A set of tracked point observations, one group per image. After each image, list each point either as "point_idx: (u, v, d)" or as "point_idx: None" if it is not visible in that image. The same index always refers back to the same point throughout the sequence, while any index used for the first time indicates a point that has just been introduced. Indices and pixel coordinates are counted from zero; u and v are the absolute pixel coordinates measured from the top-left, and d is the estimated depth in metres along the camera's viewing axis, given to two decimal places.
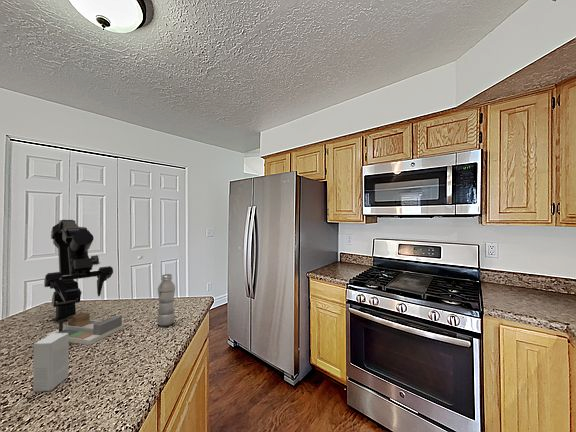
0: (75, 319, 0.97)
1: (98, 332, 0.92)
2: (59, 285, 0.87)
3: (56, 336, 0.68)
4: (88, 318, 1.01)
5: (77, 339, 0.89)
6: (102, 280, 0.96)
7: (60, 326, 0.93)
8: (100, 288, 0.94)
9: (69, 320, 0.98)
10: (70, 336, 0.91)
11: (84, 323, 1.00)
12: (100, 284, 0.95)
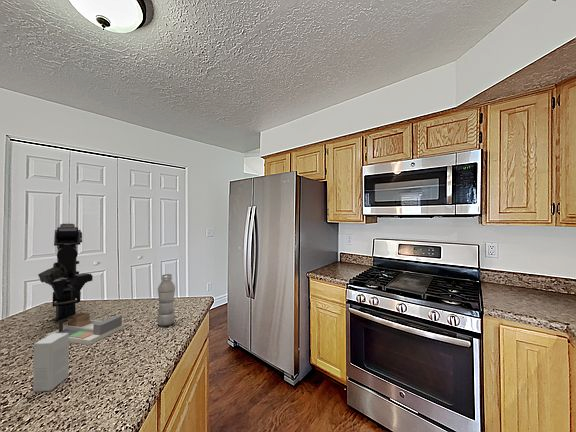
0: (75, 319, 0.97)
1: (98, 332, 0.92)
2: (51, 285, 1.01)
3: (56, 336, 0.68)
4: (88, 318, 1.01)
5: (77, 339, 0.89)
6: (72, 288, 0.99)
7: (60, 326, 0.93)
8: (71, 294, 1.00)
9: (69, 320, 0.98)
10: (70, 336, 0.91)
11: (84, 323, 1.00)
12: (71, 291, 0.99)
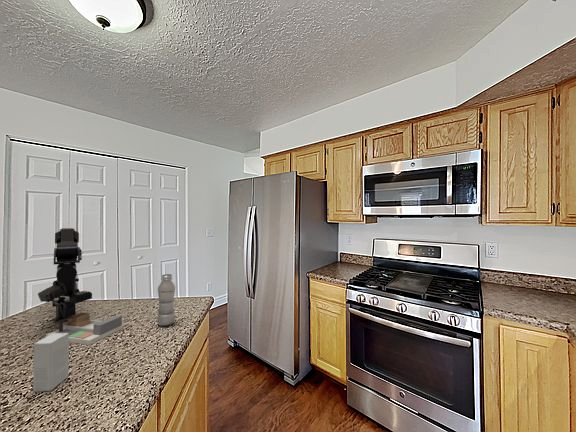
0: (75, 319, 0.97)
1: (98, 332, 0.92)
2: (57, 304, 1.00)
3: (56, 336, 0.68)
4: (88, 318, 1.01)
5: (77, 339, 0.89)
6: (64, 305, 1.00)
7: (60, 326, 0.93)
8: (64, 312, 1.00)
9: (69, 320, 0.98)
10: (70, 336, 0.91)
11: (84, 323, 1.00)
12: (64, 308, 1.00)
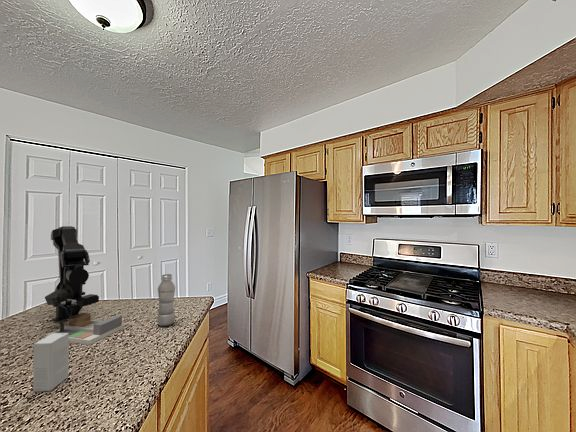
0: (76, 319, 0.97)
1: (98, 332, 0.92)
2: (64, 307, 0.99)
3: (56, 336, 0.68)
4: (89, 318, 1.01)
5: (77, 339, 0.89)
6: (71, 309, 0.99)
7: (61, 326, 0.93)
8: (71, 315, 0.99)
9: (70, 320, 0.98)
10: (70, 336, 0.91)
11: (85, 323, 1.00)
12: (70, 312, 0.99)
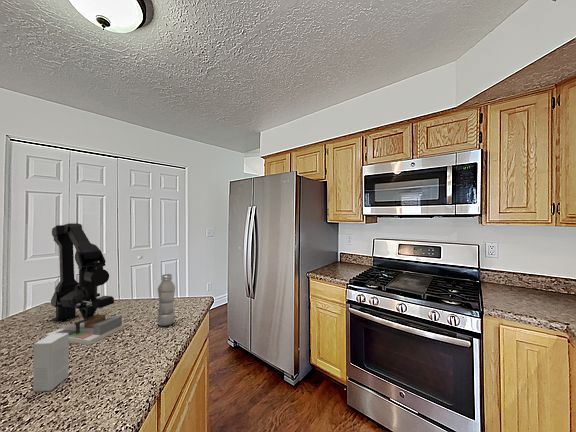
0: (92, 321, 0.95)
1: (98, 332, 0.92)
2: (79, 309, 0.98)
3: (56, 336, 0.68)
4: None
5: (77, 339, 0.89)
6: (86, 311, 0.97)
7: (77, 328, 0.92)
8: (86, 317, 0.98)
9: (85, 322, 0.96)
10: (70, 336, 0.91)
11: None
12: (85, 314, 0.98)
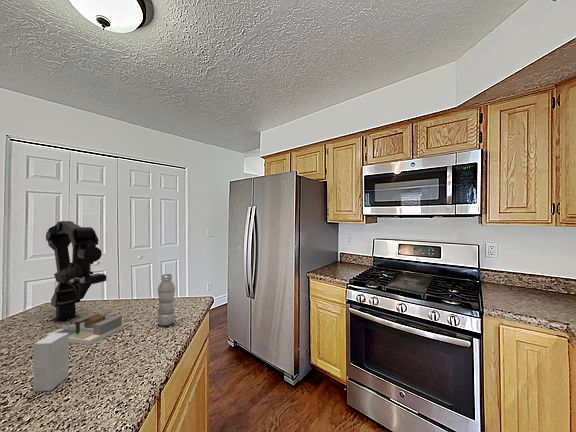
0: (92, 321, 0.95)
1: (98, 332, 0.92)
2: (73, 286, 1.01)
3: (56, 336, 0.68)
4: None
5: (77, 339, 0.89)
6: (80, 287, 1.01)
7: (77, 328, 0.92)
8: (79, 294, 1.01)
9: (85, 322, 0.96)
10: (70, 336, 0.91)
11: None
12: (79, 290, 1.01)
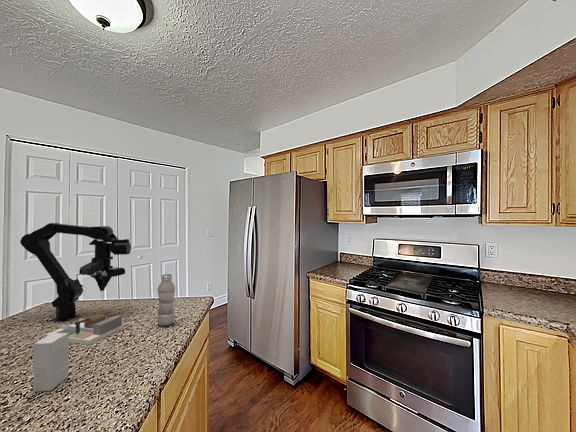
0: (92, 321, 0.95)
1: (98, 332, 0.92)
2: (95, 278, 1.13)
3: (56, 336, 0.68)
4: None
5: (77, 339, 0.89)
6: (101, 280, 1.12)
7: (77, 328, 0.92)
8: (101, 285, 1.13)
9: (85, 322, 0.96)
10: (70, 336, 0.91)
11: None
12: (101, 282, 1.13)
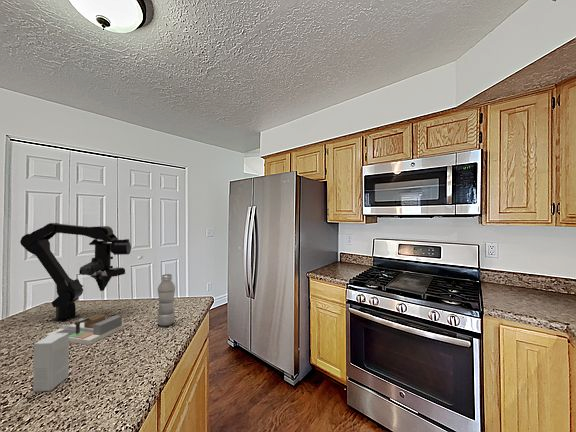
0: (92, 321, 0.95)
1: (98, 332, 0.92)
2: (95, 278, 1.13)
3: (56, 336, 0.68)
4: None
5: (77, 339, 0.89)
6: (101, 280, 1.12)
7: (77, 328, 0.92)
8: (101, 285, 1.13)
9: (85, 322, 0.96)
10: (70, 336, 0.91)
11: None
12: (101, 282, 1.13)
